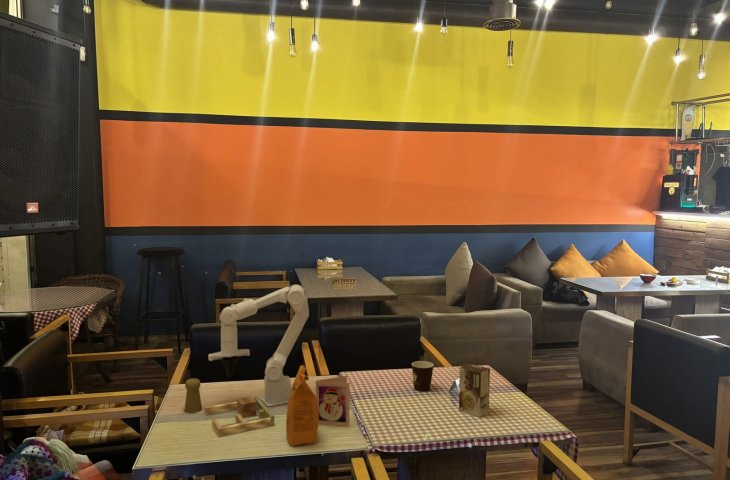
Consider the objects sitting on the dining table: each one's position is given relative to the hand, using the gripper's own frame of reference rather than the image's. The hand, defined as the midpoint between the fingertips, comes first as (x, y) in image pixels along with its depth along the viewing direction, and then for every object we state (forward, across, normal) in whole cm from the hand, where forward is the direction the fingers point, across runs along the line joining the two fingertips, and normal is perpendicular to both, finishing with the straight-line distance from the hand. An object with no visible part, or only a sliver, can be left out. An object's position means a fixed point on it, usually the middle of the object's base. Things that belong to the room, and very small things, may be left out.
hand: (229, 376), depth 195 cm
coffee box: (+10, -75, +47) cm, 89 cm away
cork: (+10, +13, 0) cm, 16 cm away
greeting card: (+10, -27, +32) cm, 43 cm away
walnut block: (+10, -3, +12) cm, 16 cm away
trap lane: (+10, +1, +16) cm, 19 cm away
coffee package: (+10, -13, +38) cm, 41 cm away
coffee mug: (+10, -72, +19) cm, 75 cm away
